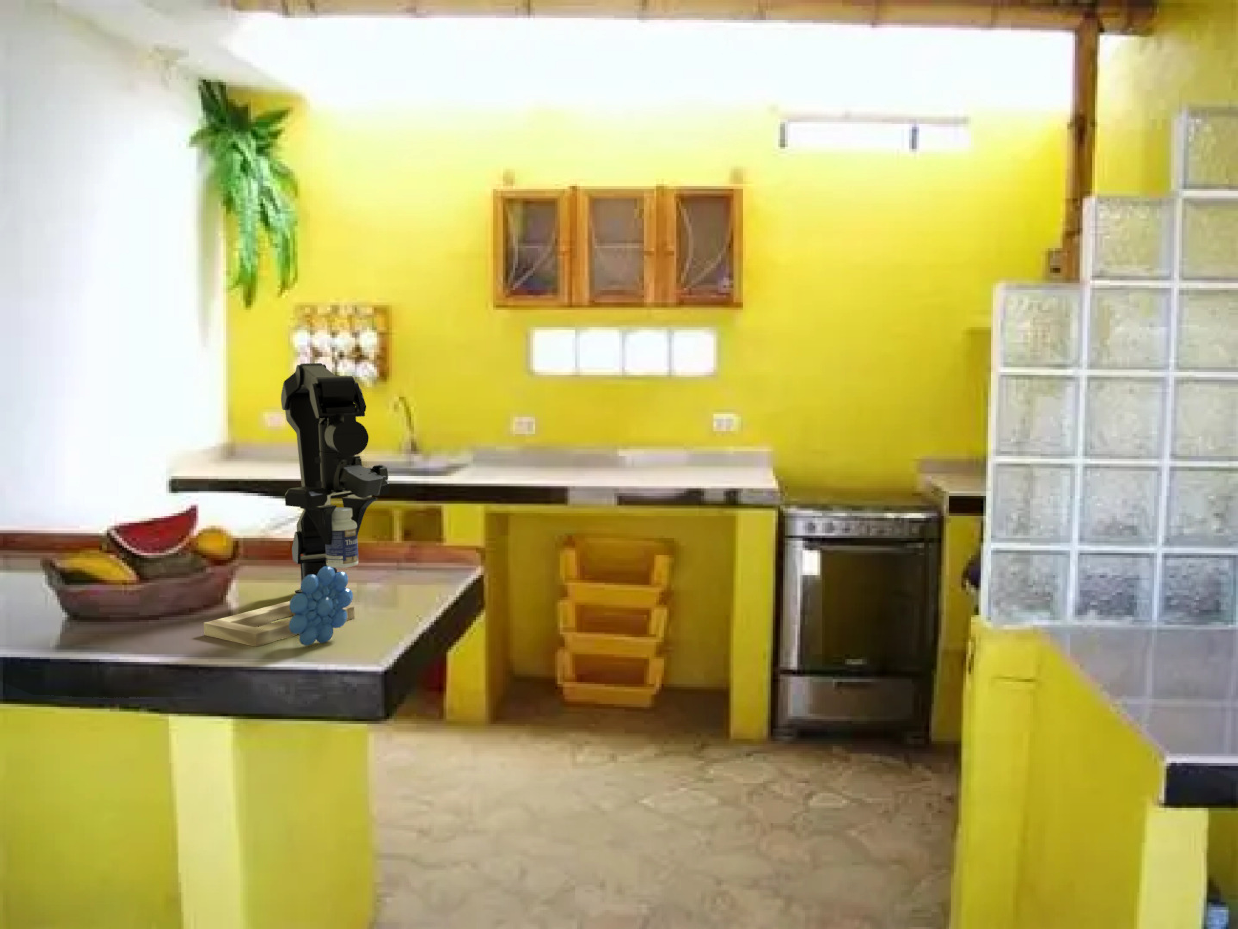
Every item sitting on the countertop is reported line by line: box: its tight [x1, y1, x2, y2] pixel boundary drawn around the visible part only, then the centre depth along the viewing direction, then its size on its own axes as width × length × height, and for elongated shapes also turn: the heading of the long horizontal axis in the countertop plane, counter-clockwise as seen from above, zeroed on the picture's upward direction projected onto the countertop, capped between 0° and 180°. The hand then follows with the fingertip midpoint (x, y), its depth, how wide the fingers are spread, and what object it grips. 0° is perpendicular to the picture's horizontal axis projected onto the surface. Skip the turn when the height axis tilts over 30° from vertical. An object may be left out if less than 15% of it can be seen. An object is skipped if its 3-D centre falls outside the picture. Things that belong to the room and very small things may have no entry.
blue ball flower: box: [289, 566, 354, 647], centre depth 165 cm, size 12×7×12 cm, turn 142°
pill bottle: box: [325, 506, 359, 569], centre depth 181 cm, size 5×5×10 cm
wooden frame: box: [203, 600, 356, 647], centre depth 176 cm, size 20×13×2 cm, turn 146°
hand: (341, 541), depth 181 cm, fingers closed on pill bottle, 5 cm apart
